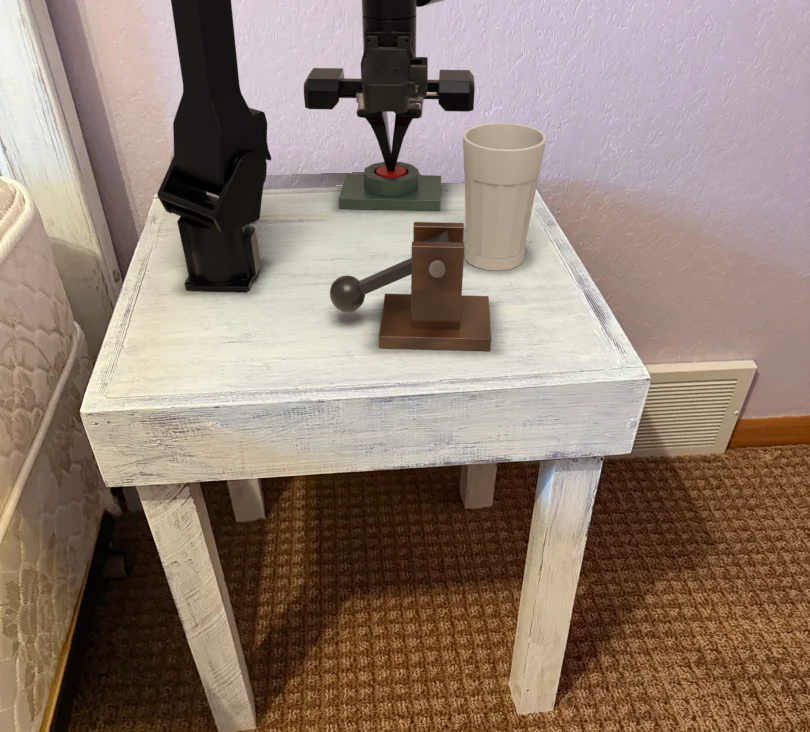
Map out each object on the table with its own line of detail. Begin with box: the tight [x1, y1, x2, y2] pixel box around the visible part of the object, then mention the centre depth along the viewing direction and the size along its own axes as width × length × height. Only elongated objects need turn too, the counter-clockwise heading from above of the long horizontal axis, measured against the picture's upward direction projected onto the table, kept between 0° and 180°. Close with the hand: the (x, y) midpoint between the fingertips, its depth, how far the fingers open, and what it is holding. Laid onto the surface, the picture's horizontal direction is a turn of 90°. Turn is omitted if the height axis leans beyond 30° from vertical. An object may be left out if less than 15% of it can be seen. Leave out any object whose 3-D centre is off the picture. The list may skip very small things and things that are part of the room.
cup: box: [462, 122, 547, 271], centre depth 77 cm, size 8×8×12 cm
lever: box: [329, 231, 452, 313], centre depth 68 cm, size 12×3×3 cm, turn 88°
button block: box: [338, 161, 442, 212], centre depth 92 cm, size 12×8×3 cm, turn 87°
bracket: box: [378, 221, 492, 352], centre depth 68 cm, size 10×8×9 cm
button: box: [376, 165, 406, 178], centre depth 92 cm, size 4×4×2 cm
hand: (391, 170), depth 91 cm, fingers closed, pressing on button
